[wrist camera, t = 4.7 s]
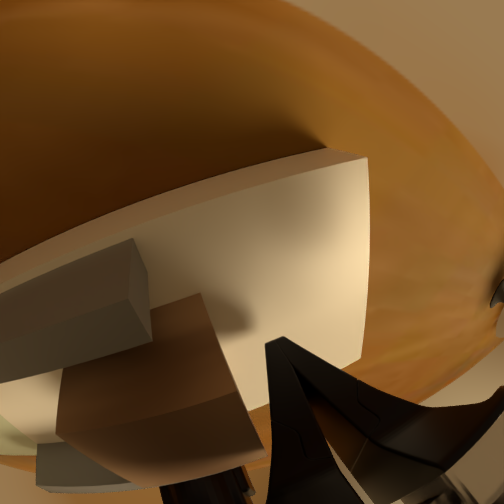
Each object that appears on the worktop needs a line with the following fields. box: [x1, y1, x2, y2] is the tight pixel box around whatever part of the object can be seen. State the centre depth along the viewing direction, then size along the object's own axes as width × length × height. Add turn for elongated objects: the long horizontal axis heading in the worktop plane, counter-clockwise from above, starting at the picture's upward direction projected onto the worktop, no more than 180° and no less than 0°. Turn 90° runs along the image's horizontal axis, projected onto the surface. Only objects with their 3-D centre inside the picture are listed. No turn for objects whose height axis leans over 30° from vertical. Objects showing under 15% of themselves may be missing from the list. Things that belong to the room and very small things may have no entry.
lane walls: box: [0, 238, 245, 493], centre depth 8 cm, size 12×10×3 cm
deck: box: [0, 148, 370, 455], centre depth 10 cm, size 28×11×2 cm, turn 101°
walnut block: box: [55, 293, 268, 488], centre depth 8 cm, size 5×5×4 cm
